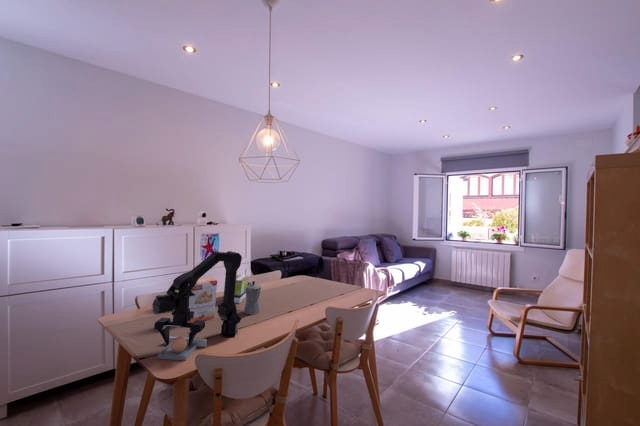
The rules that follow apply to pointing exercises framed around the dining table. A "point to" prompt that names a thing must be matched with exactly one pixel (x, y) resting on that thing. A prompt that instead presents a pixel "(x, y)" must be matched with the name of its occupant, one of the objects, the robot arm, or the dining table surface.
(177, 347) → the ball
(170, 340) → the wall
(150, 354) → the dining table surface
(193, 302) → the cracker box
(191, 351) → the grey square tray
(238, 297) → the tea box
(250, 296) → the coffeepot
